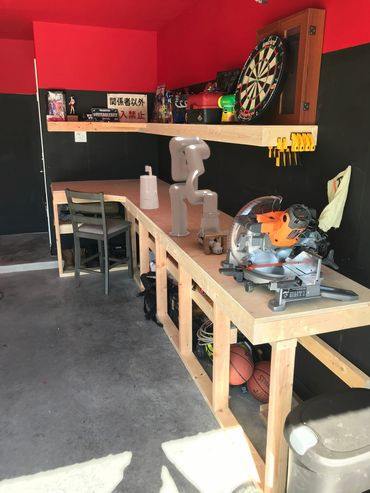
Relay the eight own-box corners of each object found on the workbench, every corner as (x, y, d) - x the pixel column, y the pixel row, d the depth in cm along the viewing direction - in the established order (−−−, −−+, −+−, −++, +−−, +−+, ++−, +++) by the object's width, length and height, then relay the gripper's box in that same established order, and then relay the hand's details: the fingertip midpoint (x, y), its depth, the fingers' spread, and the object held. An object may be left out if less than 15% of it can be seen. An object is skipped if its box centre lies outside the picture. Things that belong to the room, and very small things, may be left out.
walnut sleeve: (203, 252, 228) (203, 234, 225) (224, 250, 231) (224, 232, 228) (205, 254, 224) (205, 236, 221) (226, 252, 227) (227, 234, 224)
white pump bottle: (136, 207, 350) (134, 166, 340) (152, 204, 358) (150, 164, 349) (146, 210, 338) (144, 167, 328) (162, 207, 346) (161, 166, 337)
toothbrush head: (204, 235, 246) (223, 240, 223) (205, 246, 247) (224, 252, 224) (196, 236, 245) (214, 241, 221) (197, 247, 246) (215, 254, 222)
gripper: (222, 212, 235) (222, 244, 240) (193, 214, 231) (193, 246, 236) (227, 215, 228) (227, 247, 233) (197, 217, 224) (197, 250, 229)
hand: (210, 247), depth 235 cm, fingers closed on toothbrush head, 5 cm apart
